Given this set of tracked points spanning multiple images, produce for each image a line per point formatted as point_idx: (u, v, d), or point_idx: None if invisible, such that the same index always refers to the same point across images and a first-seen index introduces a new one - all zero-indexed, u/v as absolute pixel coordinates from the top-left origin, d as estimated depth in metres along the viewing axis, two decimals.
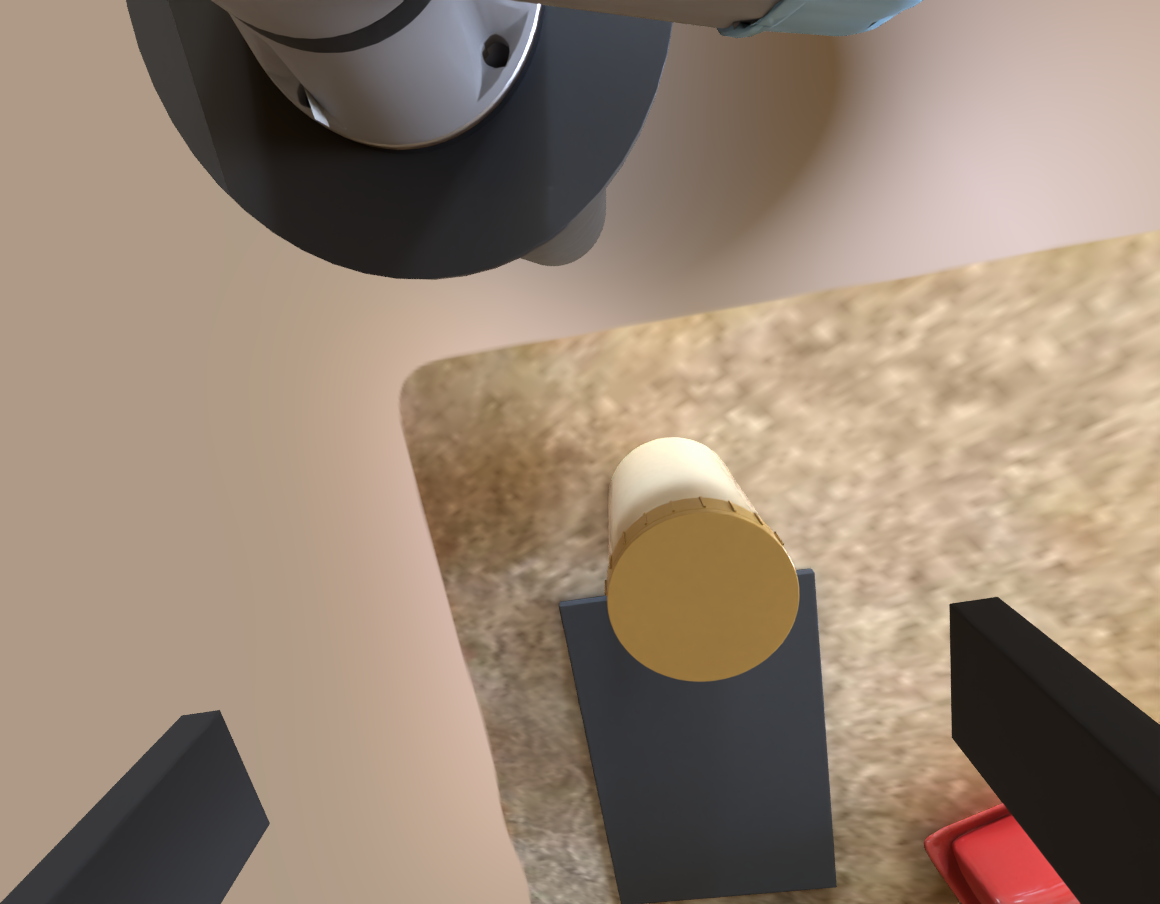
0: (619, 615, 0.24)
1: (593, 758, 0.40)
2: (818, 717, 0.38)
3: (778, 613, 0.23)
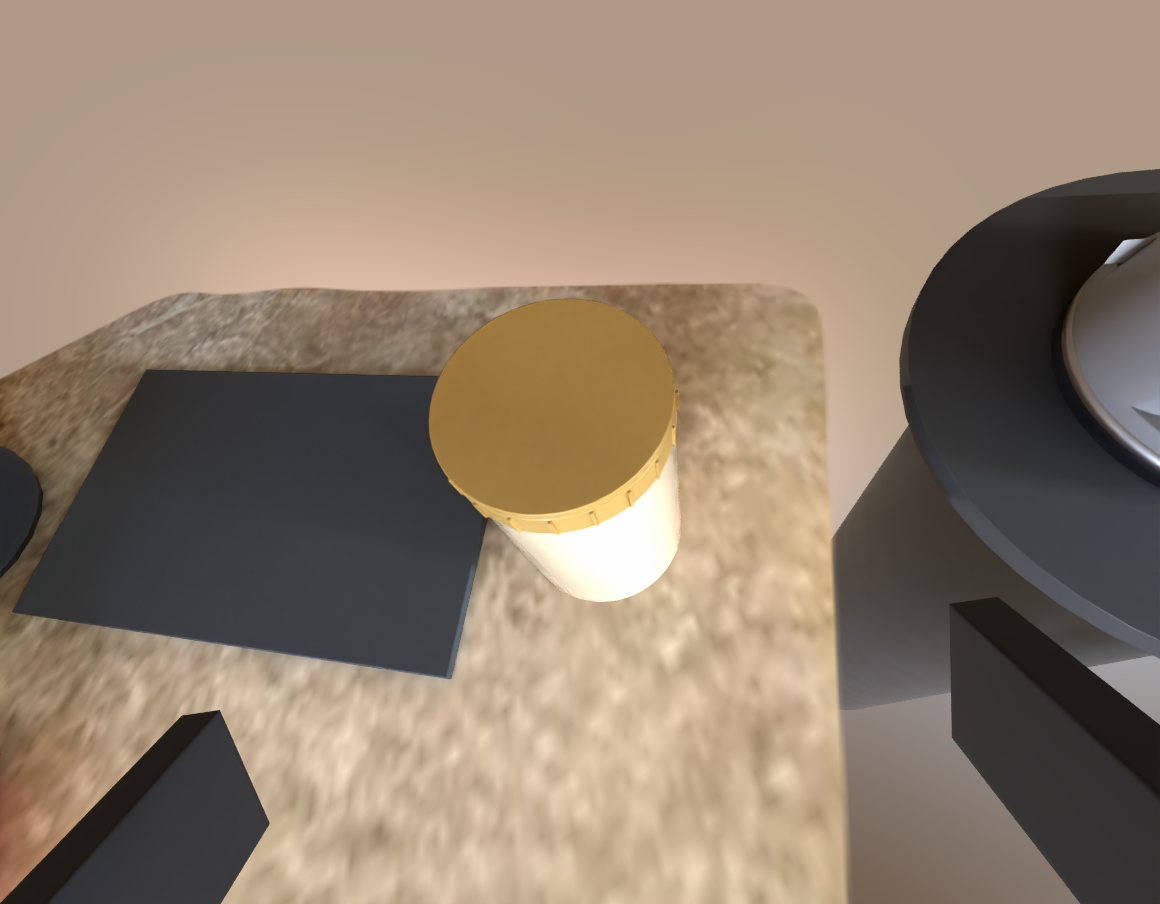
0: (560, 308, 0.19)
1: (327, 376, 0.35)
2: (248, 638, 0.28)
3: (497, 482, 0.17)
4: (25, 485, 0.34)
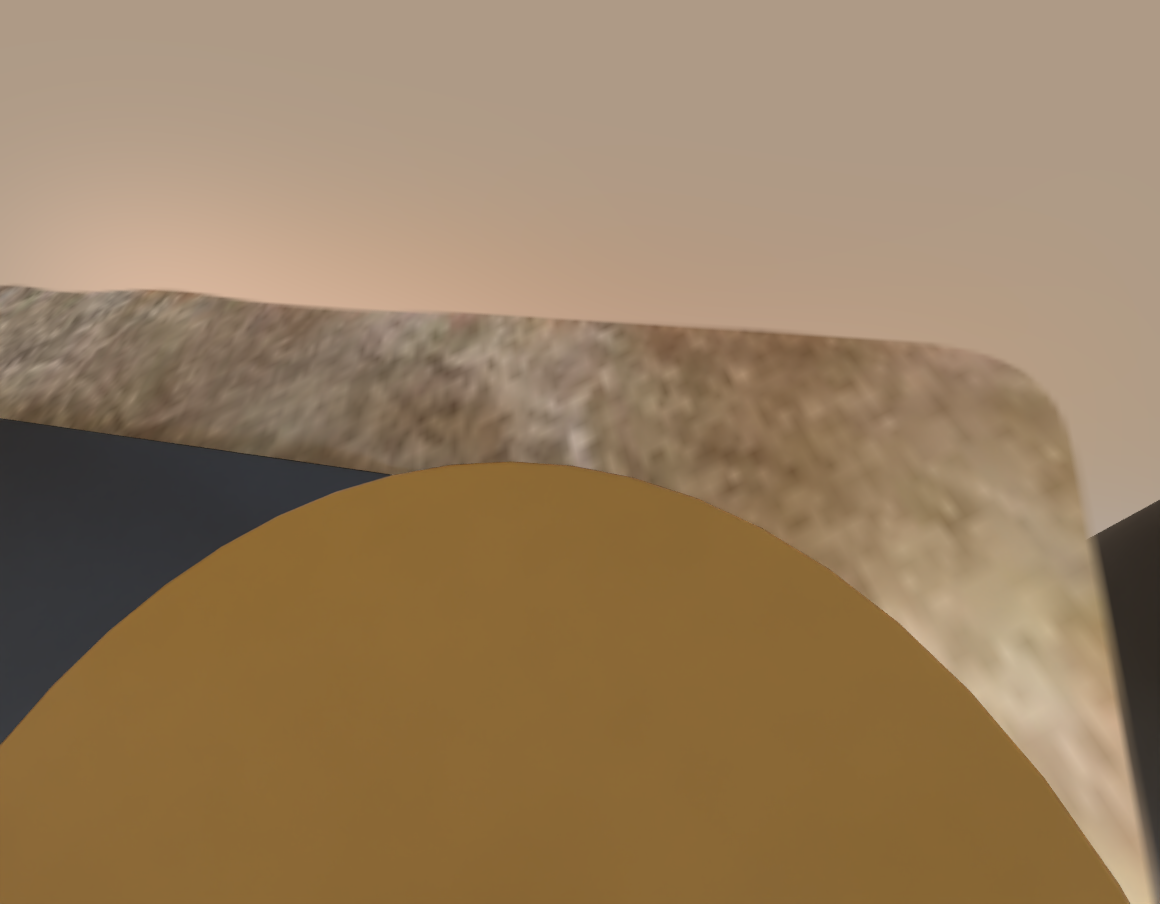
0: (538, 512, 0.04)
1: (164, 446, 0.20)
2: None
3: None
4: None
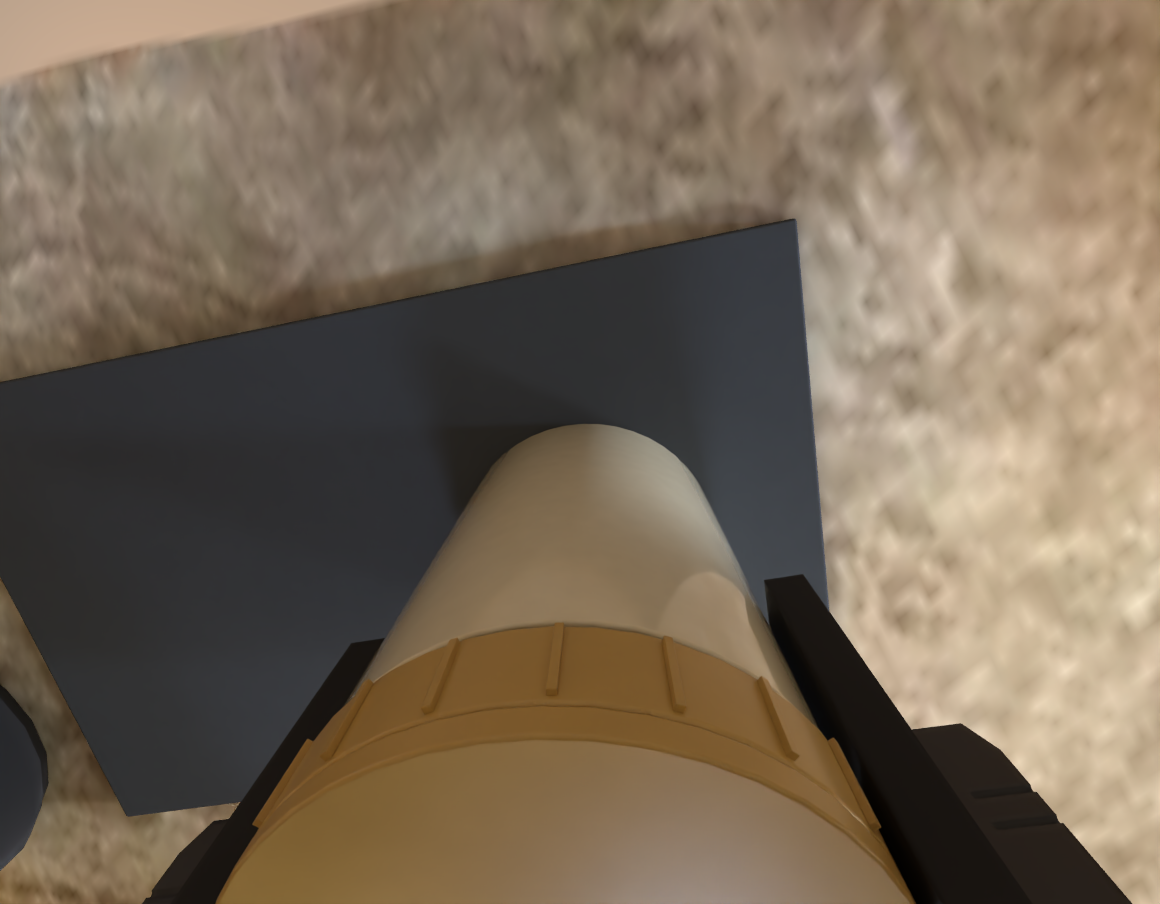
0: (473, 783, 0.05)
1: (354, 317, 0.16)
2: None
3: None
4: None
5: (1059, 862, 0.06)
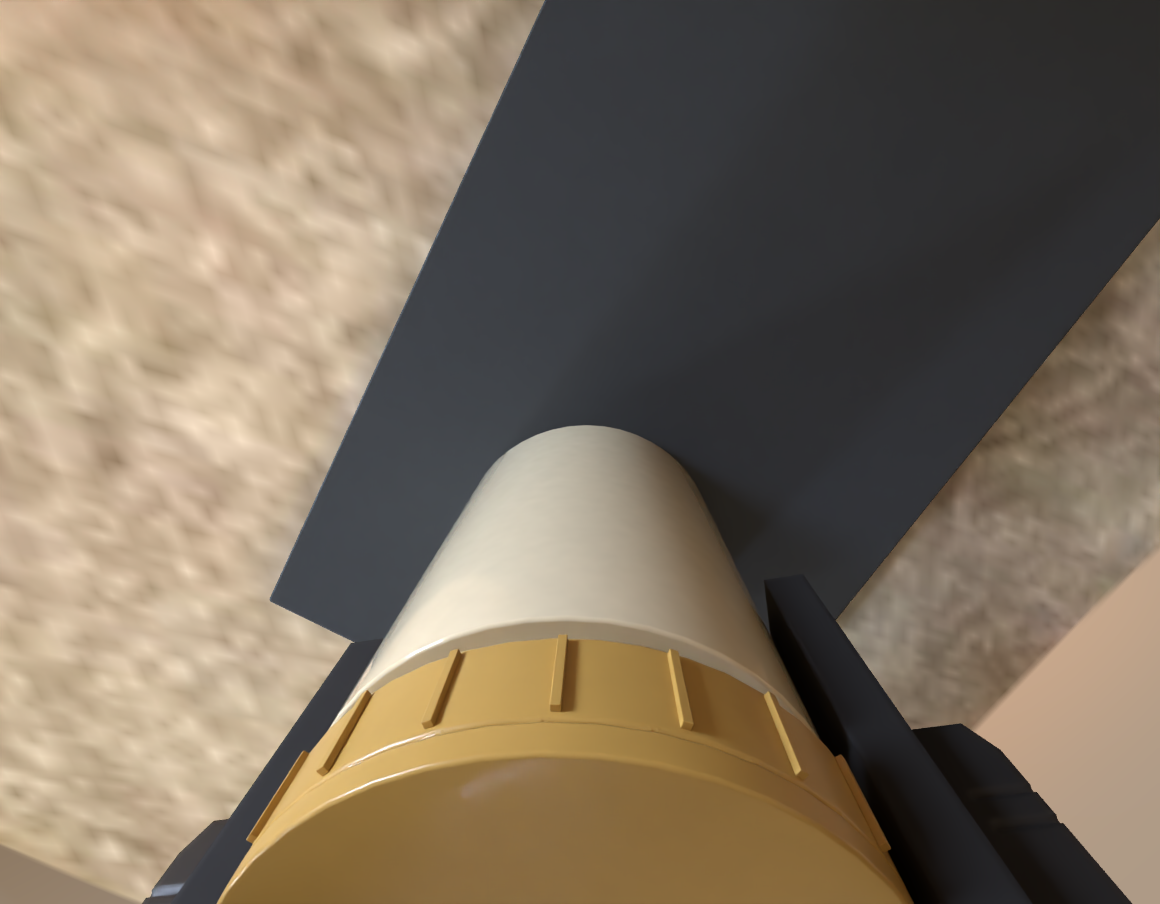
0: (474, 802, 0.05)
1: (899, 533, 0.17)
2: (418, 311, 0.16)
3: None
4: None
5: (1059, 862, 0.06)
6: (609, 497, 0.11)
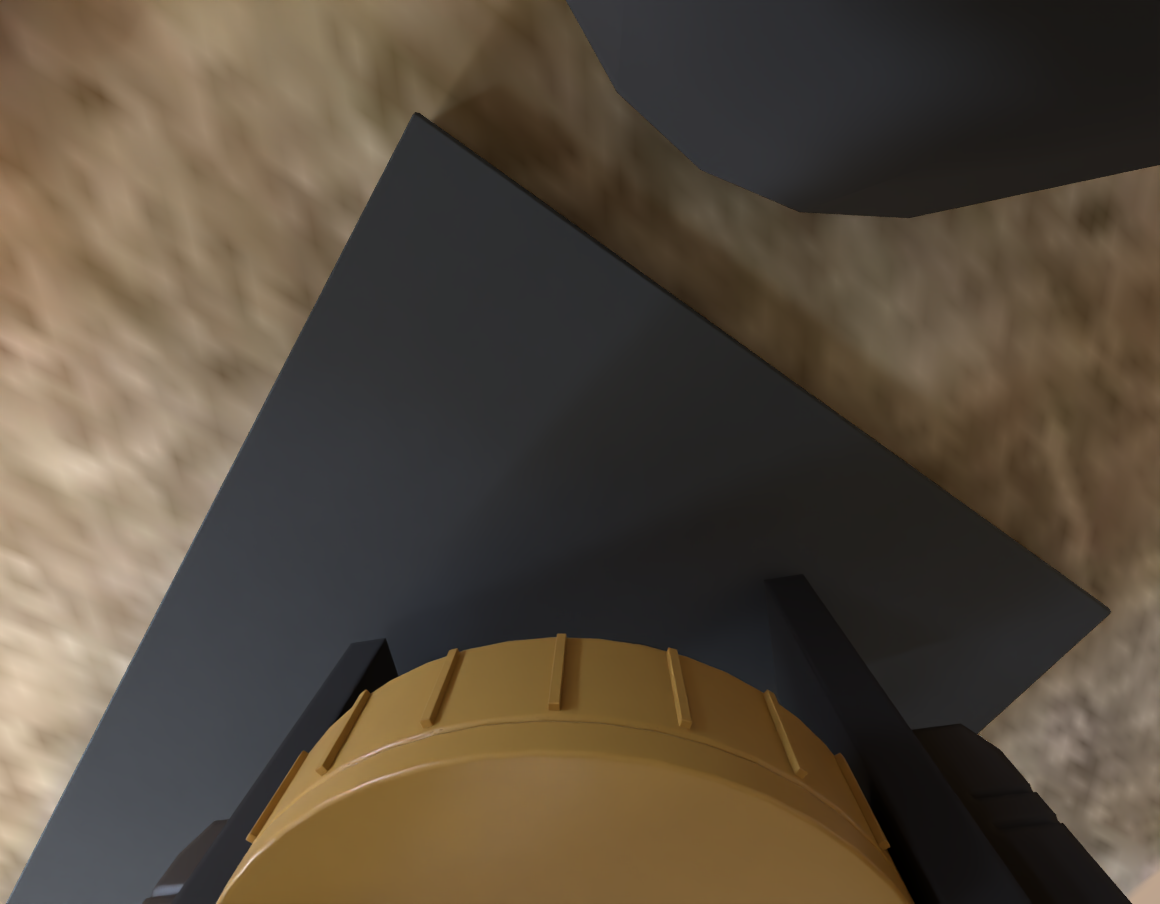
0: (472, 801, 0.05)
1: None
2: (107, 745, 0.13)
3: None
4: (883, 213, 0.08)
5: (1059, 862, 0.06)
6: None
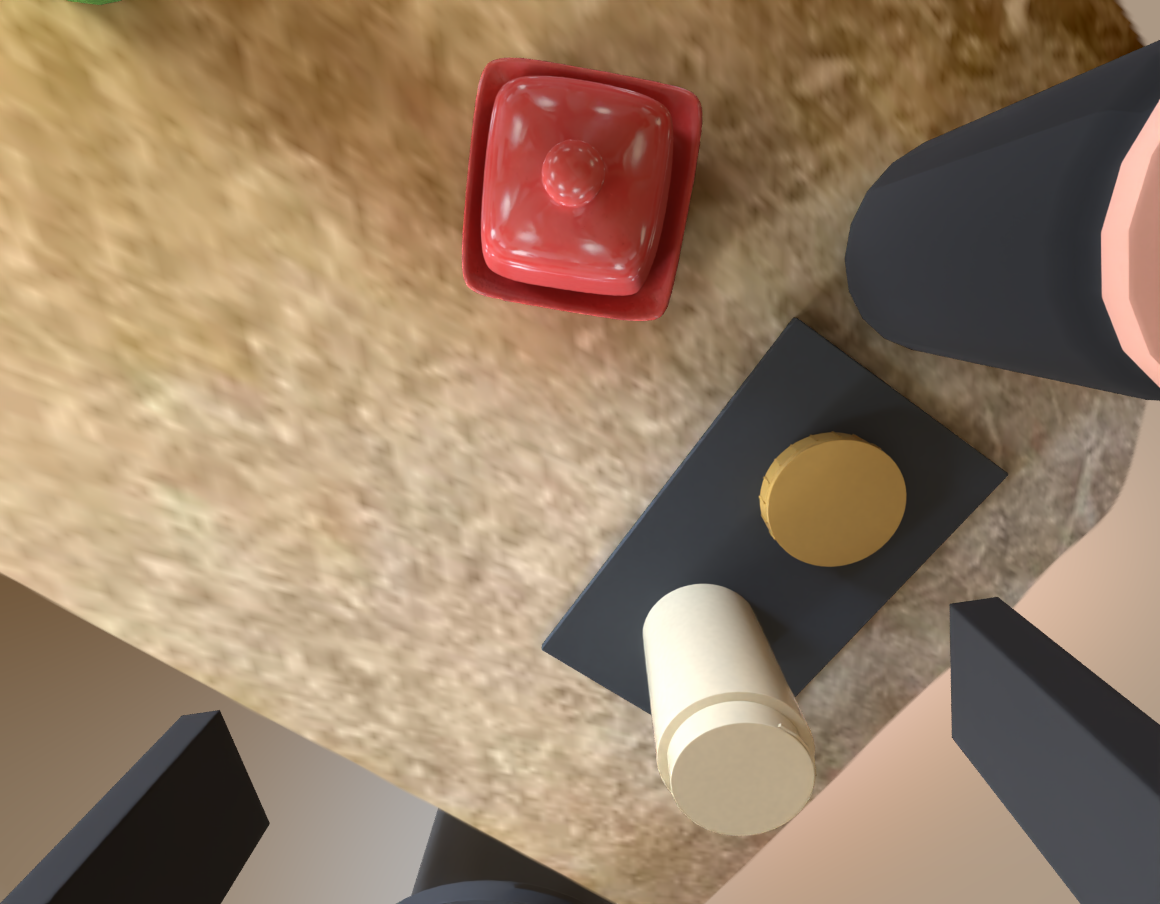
0: (829, 448, 0.32)
1: (846, 640, 0.37)
2: (640, 531, 0.35)
3: (822, 554, 0.33)
4: None
5: None
6: (738, 639, 0.31)
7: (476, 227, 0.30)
